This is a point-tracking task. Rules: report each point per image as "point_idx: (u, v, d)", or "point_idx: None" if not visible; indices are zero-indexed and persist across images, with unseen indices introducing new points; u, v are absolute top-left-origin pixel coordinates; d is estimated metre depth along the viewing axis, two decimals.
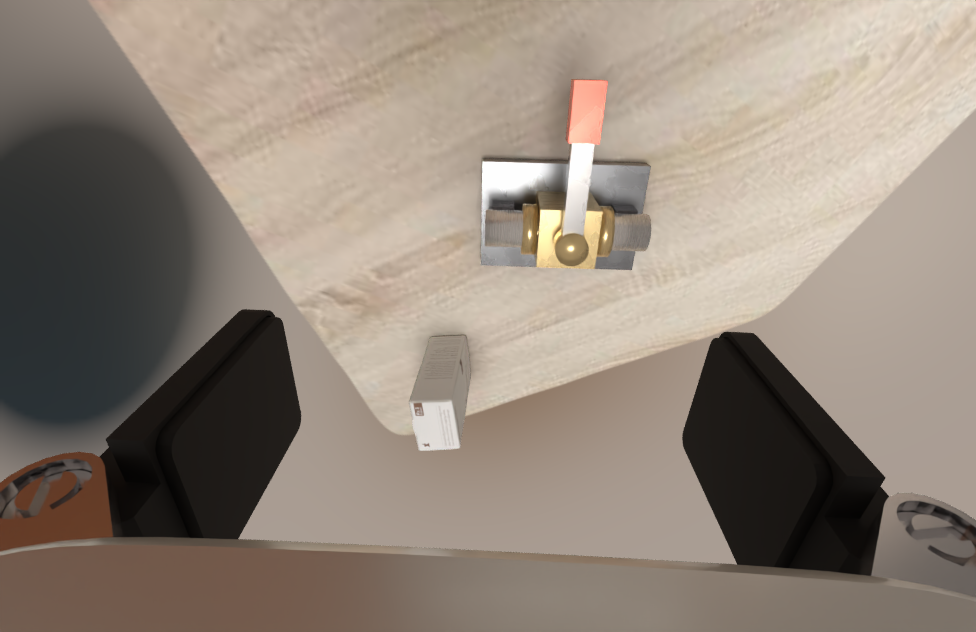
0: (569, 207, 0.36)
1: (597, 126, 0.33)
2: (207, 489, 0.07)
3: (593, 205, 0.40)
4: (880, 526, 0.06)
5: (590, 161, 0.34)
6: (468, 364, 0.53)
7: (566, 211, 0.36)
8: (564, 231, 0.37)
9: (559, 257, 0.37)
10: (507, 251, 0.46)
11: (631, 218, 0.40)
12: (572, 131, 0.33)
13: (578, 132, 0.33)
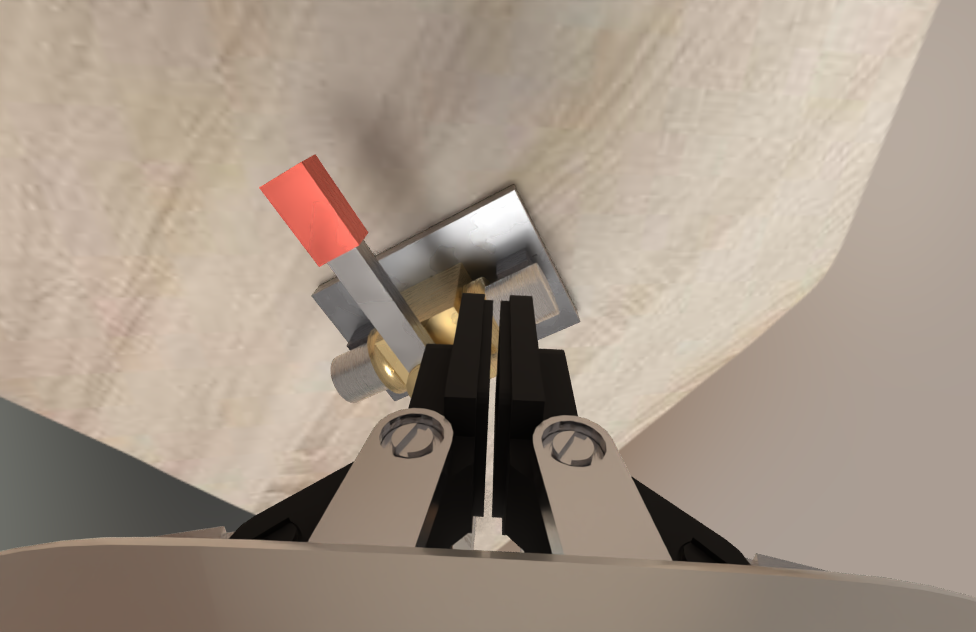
0: (388, 337, 0.23)
1: (337, 225, 0.20)
2: None
3: (448, 295, 0.26)
4: (539, 469, 0.06)
5: (368, 270, 0.22)
6: None
7: (389, 343, 0.23)
8: (406, 367, 0.24)
9: None
10: None
11: (510, 284, 0.26)
12: (312, 250, 0.21)
13: (319, 247, 0.21)
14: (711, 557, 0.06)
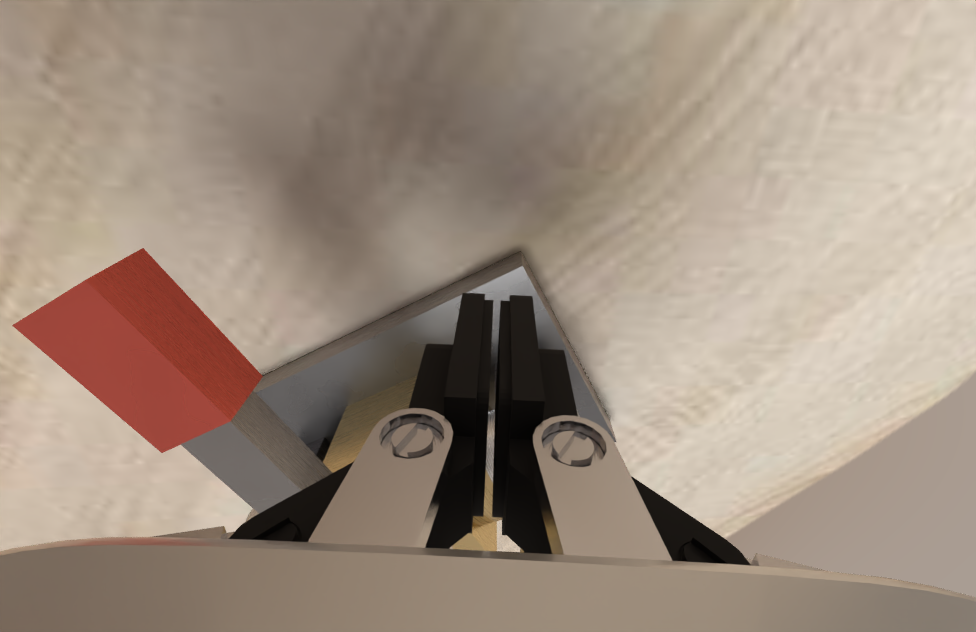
0: None
1: (184, 389, 0.10)
2: None
3: None
4: (540, 468, 0.06)
5: (257, 455, 0.12)
6: None
7: None
8: None
9: None
10: None
11: None
12: (143, 427, 0.11)
13: (156, 423, 0.11)
14: (711, 557, 0.06)
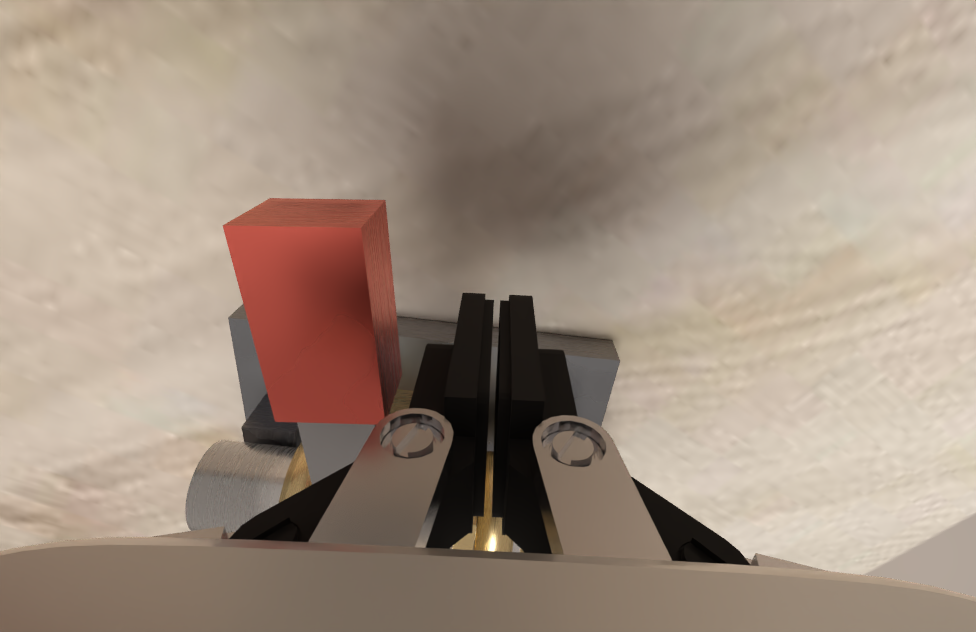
0: None
1: (363, 375, 0.09)
2: None
3: None
4: (539, 468, 0.06)
5: None
6: None
7: None
8: None
9: None
10: None
11: None
12: (278, 388, 0.09)
13: (299, 393, 0.09)
14: (711, 557, 0.06)
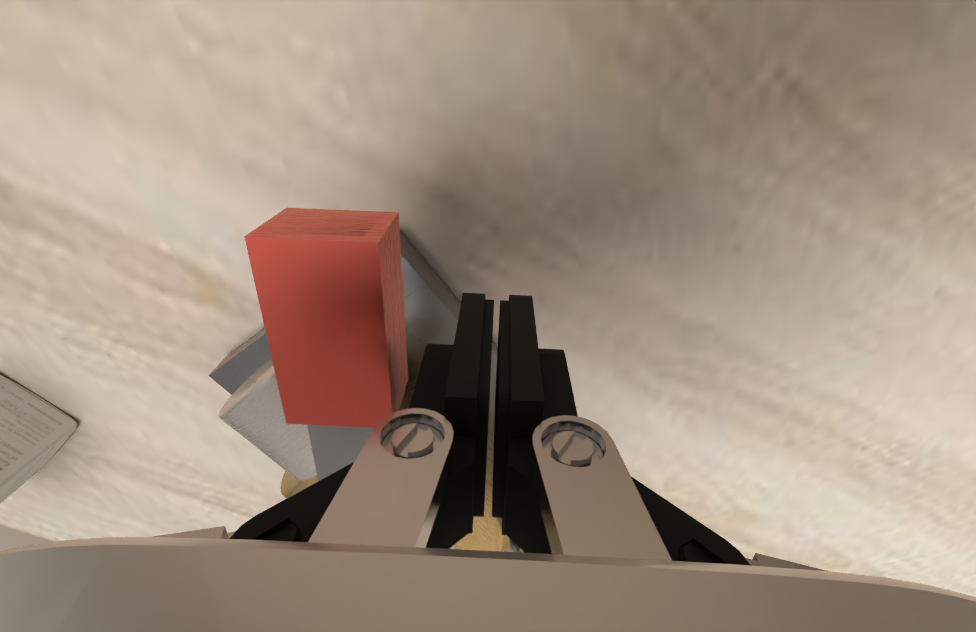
0: None
1: (374, 381, 0.09)
2: None
3: (489, 525, 0.17)
4: (539, 469, 0.06)
5: None
6: (30, 475, 0.23)
7: None
8: None
9: None
10: None
11: None
12: (290, 392, 0.09)
13: (311, 397, 0.09)
14: (710, 557, 0.06)
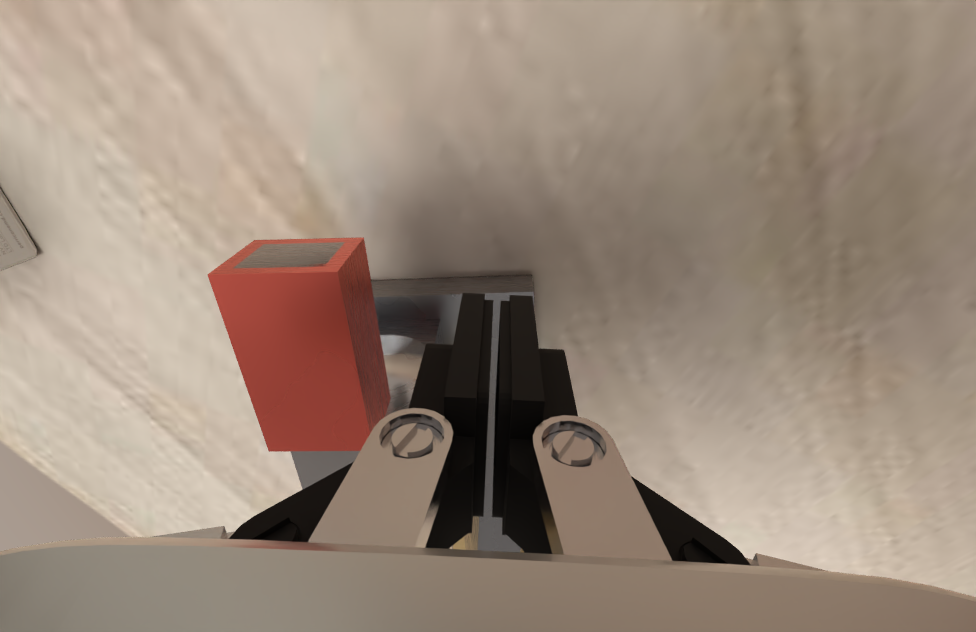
0: None
1: (349, 406, 0.09)
2: None
3: None
4: (540, 468, 0.06)
5: None
6: None
7: None
8: None
9: None
10: None
11: None
12: (269, 421, 0.09)
13: (289, 424, 0.09)
14: (711, 557, 0.06)
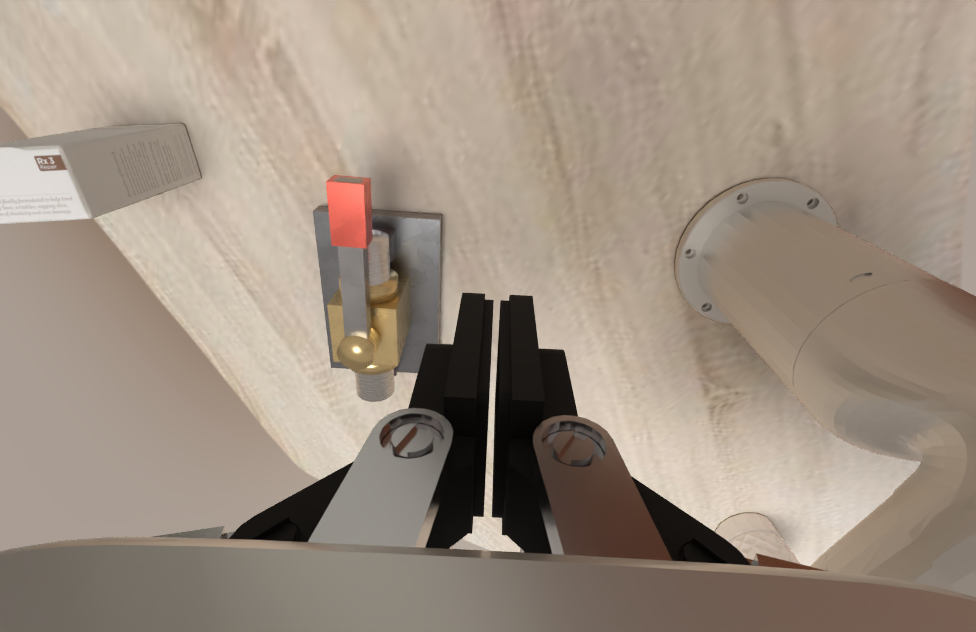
0: (346, 309, 0.32)
1: (361, 230, 0.29)
2: None
3: (401, 348, 0.38)
4: (540, 468, 0.06)
5: (361, 264, 0.31)
6: None
7: (344, 313, 0.32)
8: (345, 333, 0.33)
9: (342, 360, 0.34)
10: None
11: (390, 380, 0.40)
12: (334, 233, 0.29)
13: (340, 235, 0.29)
14: (711, 557, 0.06)
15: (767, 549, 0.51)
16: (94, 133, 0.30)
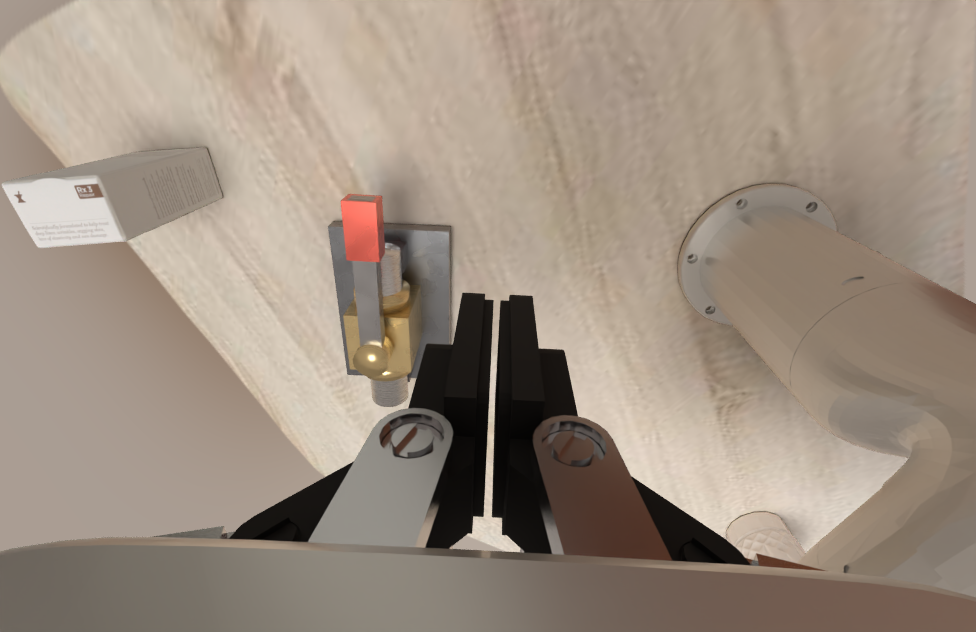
0: (361, 320, 0.34)
1: (373, 245, 0.31)
2: None
3: (414, 355, 0.40)
4: (540, 468, 0.06)
5: (374, 277, 0.32)
6: None
7: (359, 323, 0.34)
8: (361, 342, 0.35)
9: (358, 368, 0.35)
10: None
11: (404, 386, 0.41)
12: (348, 249, 0.31)
13: (354, 250, 0.31)
14: (711, 557, 0.06)
15: (779, 547, 0.51)
16: (126, 160, 0.32)
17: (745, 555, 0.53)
